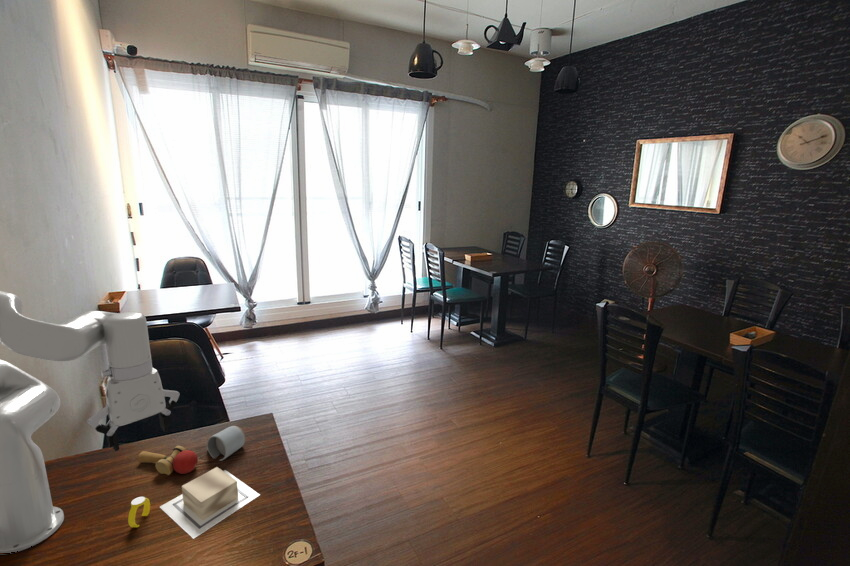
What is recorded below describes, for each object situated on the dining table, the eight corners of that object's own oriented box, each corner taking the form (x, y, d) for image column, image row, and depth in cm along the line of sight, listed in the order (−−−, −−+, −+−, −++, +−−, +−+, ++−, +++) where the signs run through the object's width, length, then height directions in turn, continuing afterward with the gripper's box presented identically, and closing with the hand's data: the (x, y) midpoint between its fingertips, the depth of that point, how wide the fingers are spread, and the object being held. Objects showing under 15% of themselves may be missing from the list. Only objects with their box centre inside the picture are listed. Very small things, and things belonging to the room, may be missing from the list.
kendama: (129, 476, 114) (183, 480, 109) (127, 453, 113) (181, 456, 109) (154, 463, 121) (205, 467, 117) (152, 441, 121) (203, 444, 117)
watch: (142, 513, 100) (140, 491, 99) (154, 513, 100) (152, 491, 99) (125, 532, 94) (123, 508, 93) (138, 532, 94) (136, 508, 93)
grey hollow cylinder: (248, 448, 125) (246, 425, 124) (227, 464, 118) (224, 440, 116) (221, 440, 129) (219, 418, 127) (199, 455, 121) (196, 431, 120)
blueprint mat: (193, 540, 92) (193, 538, 92) (159, 508, 101) (159, 506, 101) (260, 496, 106) (260, 494, 106) (225, 471, 115) (225, 469, 115)
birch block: (202, 520, 98) (201, 502, 96) (183, 503, 102) (181, 486, 101) (238, 497, 105) (236, 481, 104) (218, 483, 110) (217, 466, 109)
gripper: (86, 388, 81) (98, 464, 85) (181, 362, 94) (188, 429, 98) (76, 376, 86) (88, 449, 89) (168, 353, 99) (176, 417, 102)
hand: (140, 438), depth 94 cm, fingers open, 9 cm apart
